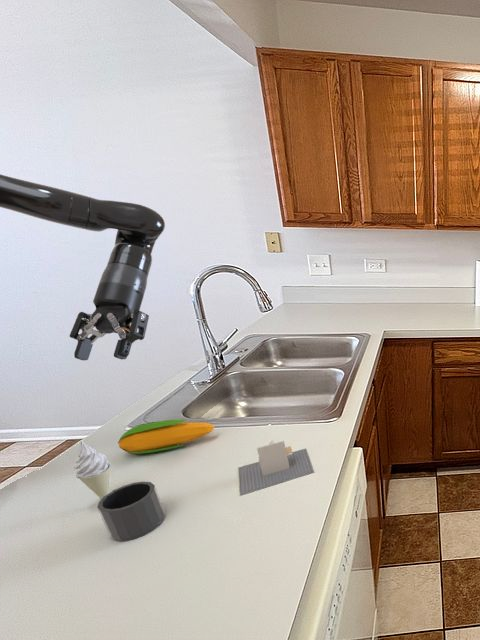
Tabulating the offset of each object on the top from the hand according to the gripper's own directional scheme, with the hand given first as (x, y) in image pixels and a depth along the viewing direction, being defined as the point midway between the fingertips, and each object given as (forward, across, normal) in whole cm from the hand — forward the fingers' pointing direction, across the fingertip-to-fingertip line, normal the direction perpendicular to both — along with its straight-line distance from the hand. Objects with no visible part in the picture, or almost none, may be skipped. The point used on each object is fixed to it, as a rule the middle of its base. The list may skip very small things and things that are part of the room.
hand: (100, 358), depth 82 cm
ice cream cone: (+28, 0, +10) cm, 30 cm away
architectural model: (+22, +30, +20) cm, 42 cm away
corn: (+15, -2, +26) cm, 30 cm away
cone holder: (+32, +12, +6) cm, 35 cm away
